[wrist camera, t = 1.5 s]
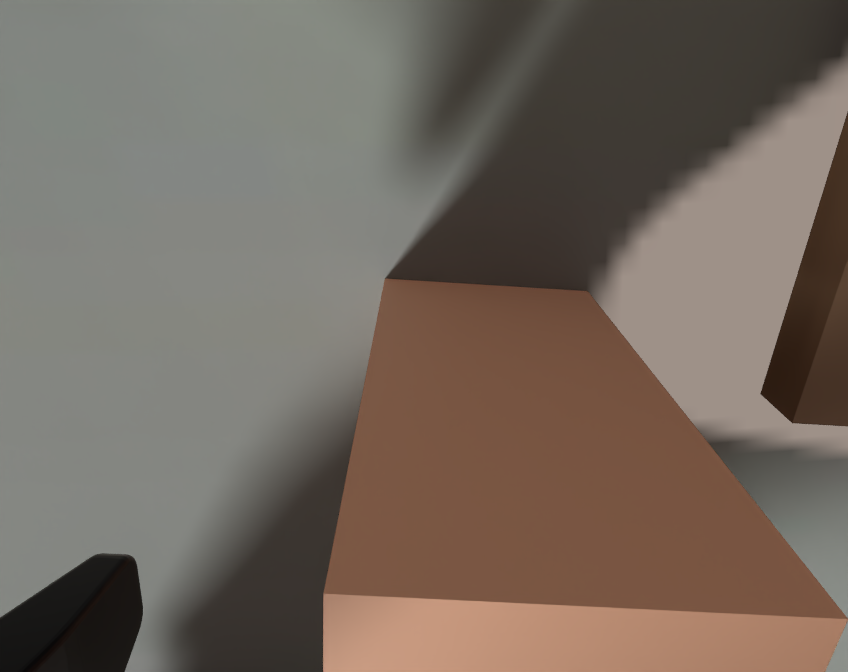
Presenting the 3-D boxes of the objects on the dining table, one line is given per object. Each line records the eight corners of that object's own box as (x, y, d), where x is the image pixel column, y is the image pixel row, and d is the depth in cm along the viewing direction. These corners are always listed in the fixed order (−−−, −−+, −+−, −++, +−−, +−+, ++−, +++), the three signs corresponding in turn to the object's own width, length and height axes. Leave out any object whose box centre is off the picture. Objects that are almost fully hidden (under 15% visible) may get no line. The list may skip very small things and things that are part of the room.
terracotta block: (557, 462, 14) (718, 914, 6) (377, 452, 13) (321, 899, 6) (587, 291, 12) (847, 618, 5) (385, 278, 12) (323, 594, 5)
